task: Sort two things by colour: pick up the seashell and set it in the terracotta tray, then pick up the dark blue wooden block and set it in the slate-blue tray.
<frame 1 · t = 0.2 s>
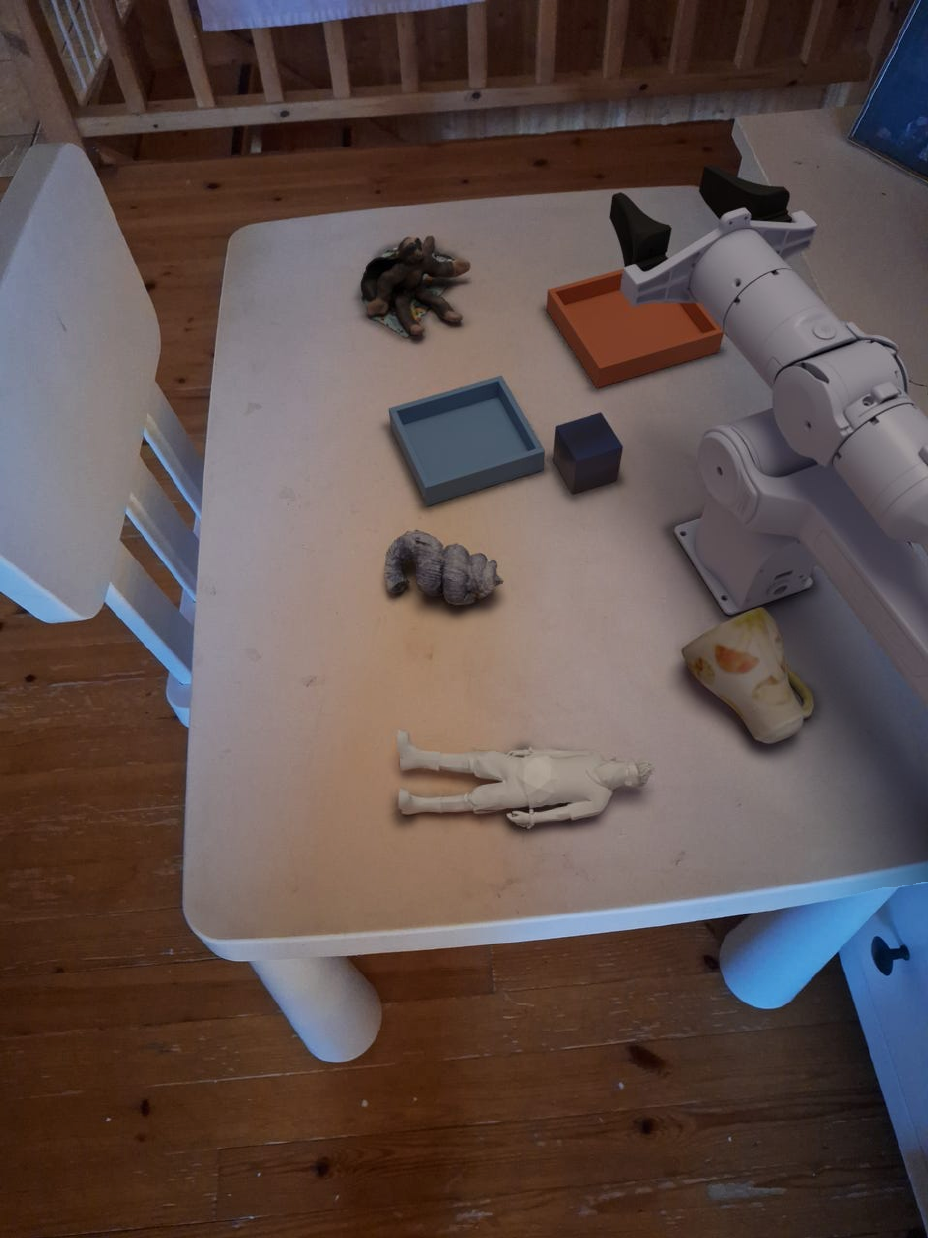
hand: (660, 191, 67), 21 cm above the table, tool horizontal, fingers open, 7 cm apart
blue tray: (465, 448, 83), on the table
mug: (745, 694, 69), on the table
figurine: (524, 787, 66), on the table
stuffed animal: (416, 292, 95), on the table
terracotta tray: (630, 330, 91), on the table
blue block: (584, 470, 81), on the table
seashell: (444, 586, 75), on the table
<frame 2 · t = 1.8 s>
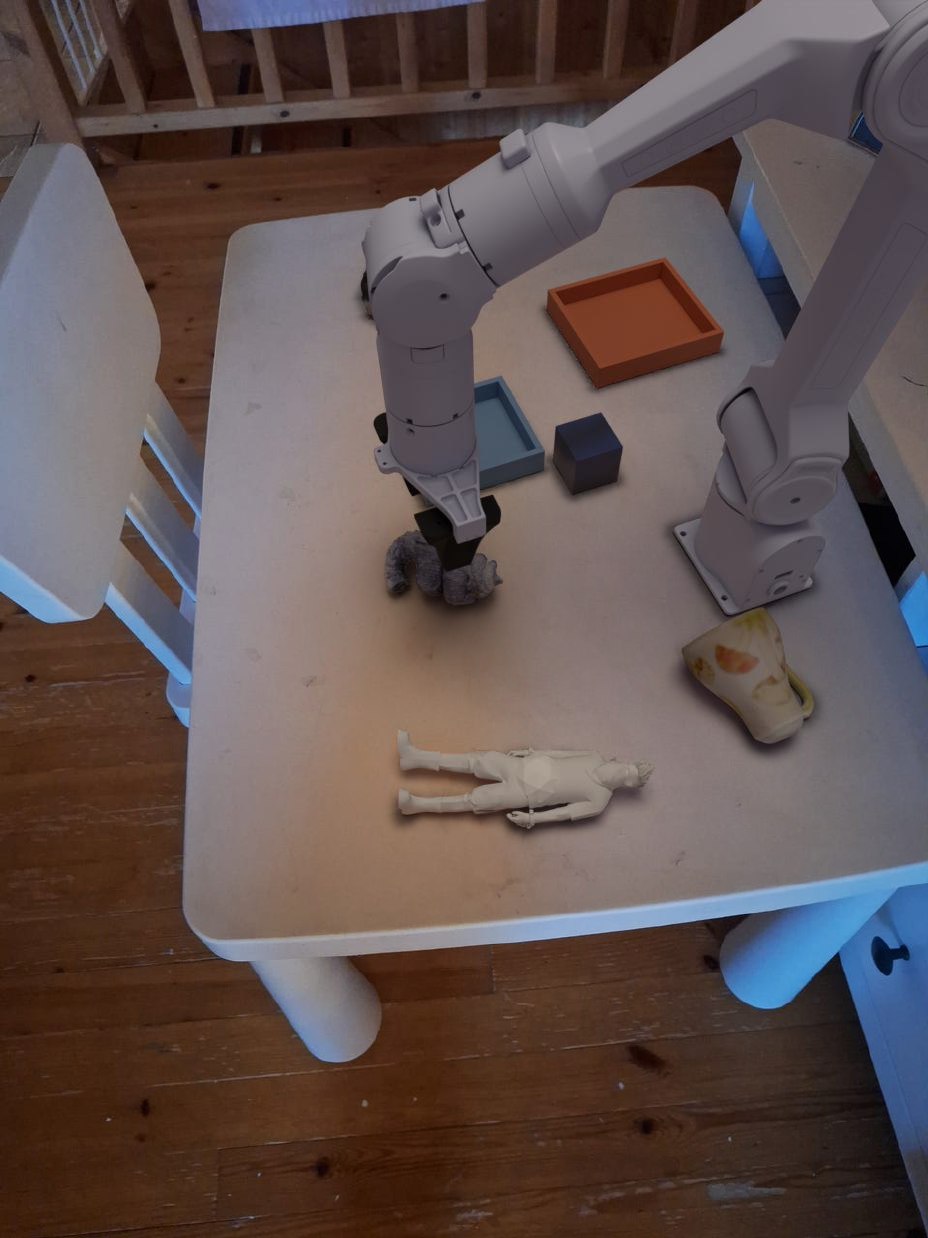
hand: (439, 526, 68), 8 cm above the table, tool pointing down, fingers open, 7 cm apart
nothing on the table moved.
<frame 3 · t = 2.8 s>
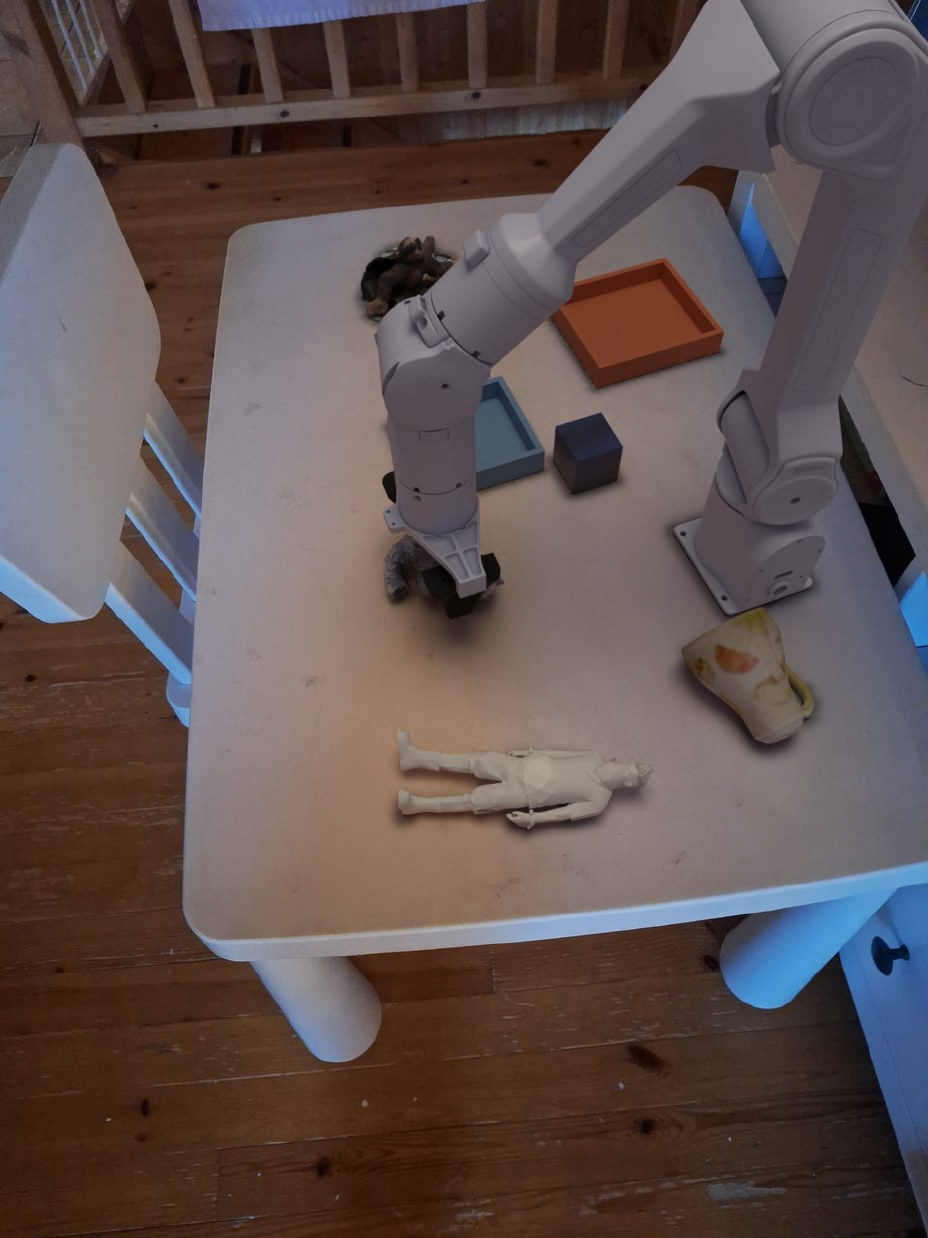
hand: (443, 574, 74), 1 cm above the table, tool pointing down
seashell: (445, 588, 75), on the table, touching gripper
everything else where it was.
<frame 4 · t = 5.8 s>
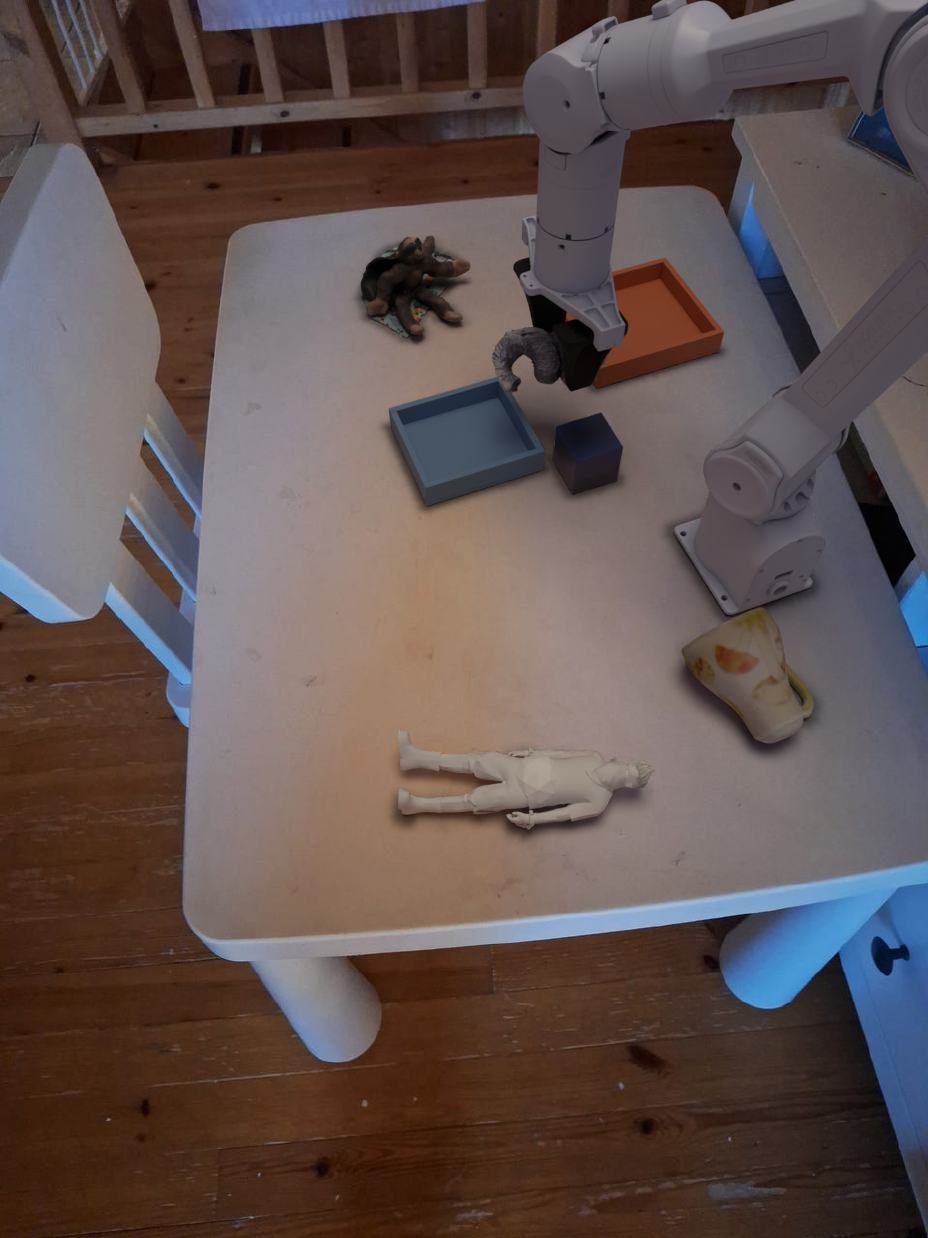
hand: (563, 361, 77), 8 cm above the table, tool pointing down, fingers closed on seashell, 6 cm apart
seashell: (550, 378, 78), point 7 cm above the table, touching gripper
everything else where it was.
when the fingers open (3 cm above the table, at t = 8.9 s): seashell stays where it is, resting on terracotta tray.
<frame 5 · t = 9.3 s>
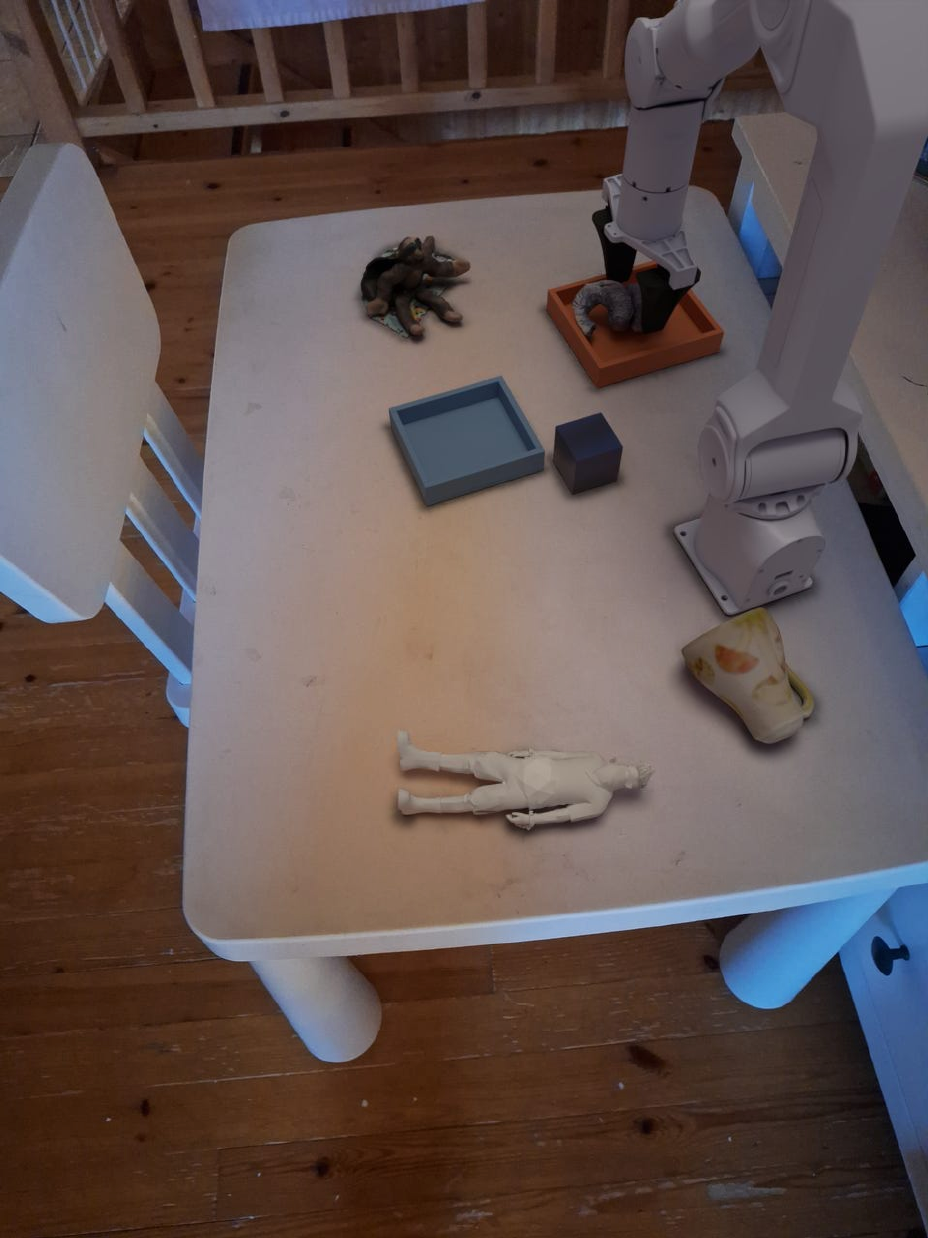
hand: (634, 304, 88), 3 cm above the table, tool pointing down, fingers open, 7 cm apart
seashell: (619, 327, 90), point 1 cm above the table, touching terracotta tray
everything else where it was.
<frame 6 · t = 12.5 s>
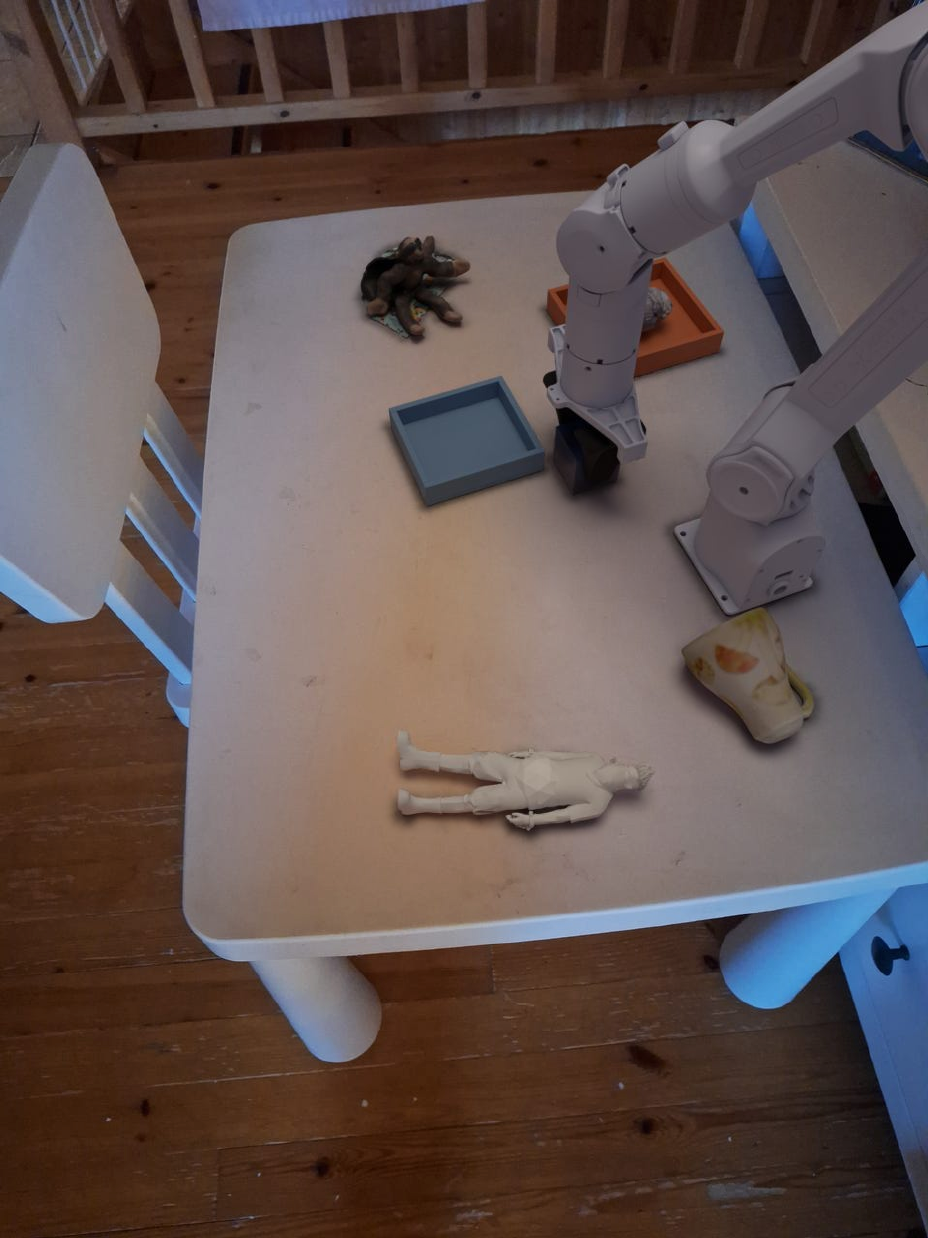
hand: (586, 459, 80), 1 cm above the table, tool pointing down, fingers closed on blue block, 4 cm apart
blue block: (584, 470, 81), on the table, touching gripper
everything else where it was.
when the fingers open (2 cm above the table, at t = 16.7 s): blue block stays where it is, resting on blue tray.
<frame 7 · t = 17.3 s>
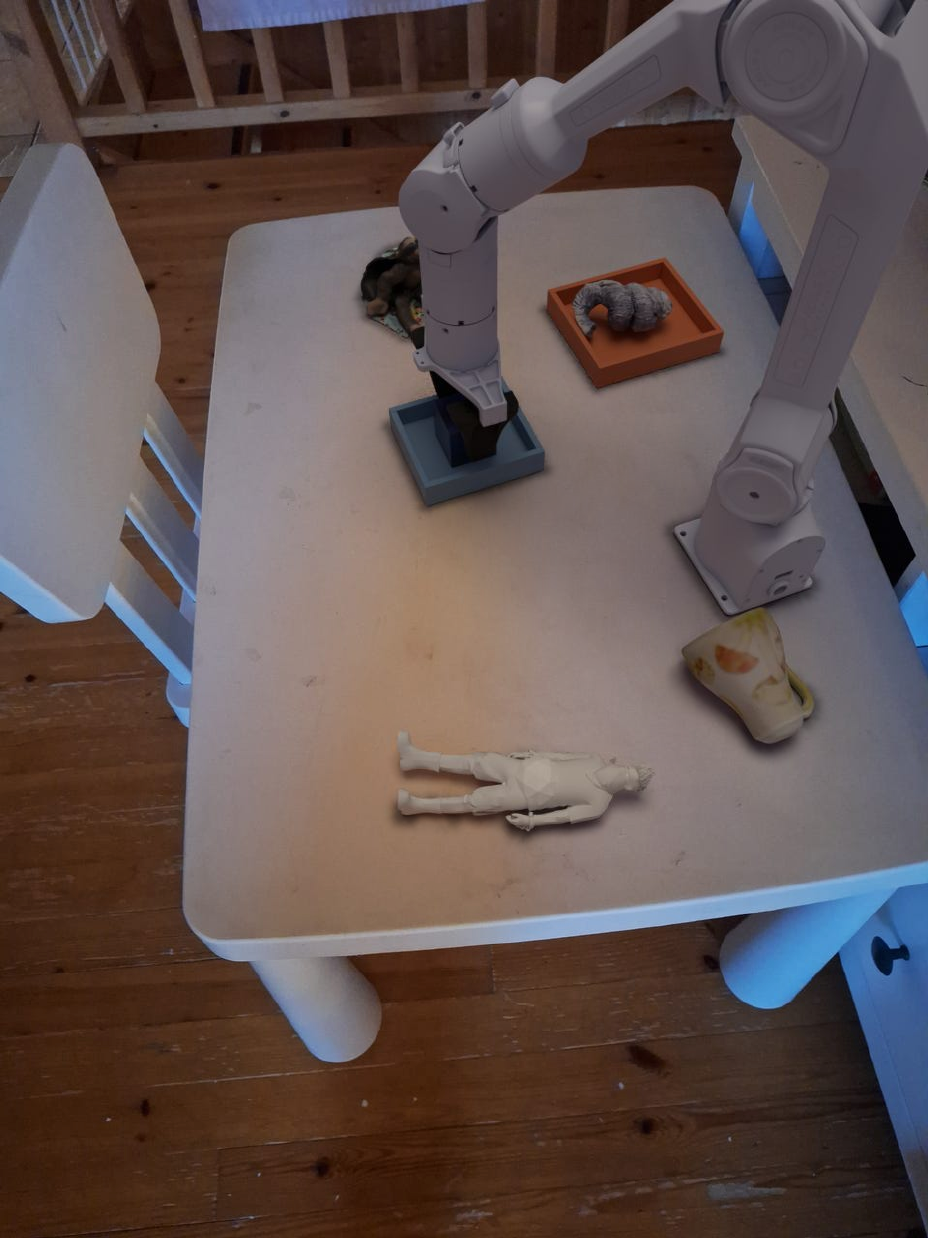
hand: (465, 426, 81), 3 cm above the table, tool pointing down, fingers open, 7 cm apart
blue block: (465, 444, 83), resting on blue tray
everything else where it was.
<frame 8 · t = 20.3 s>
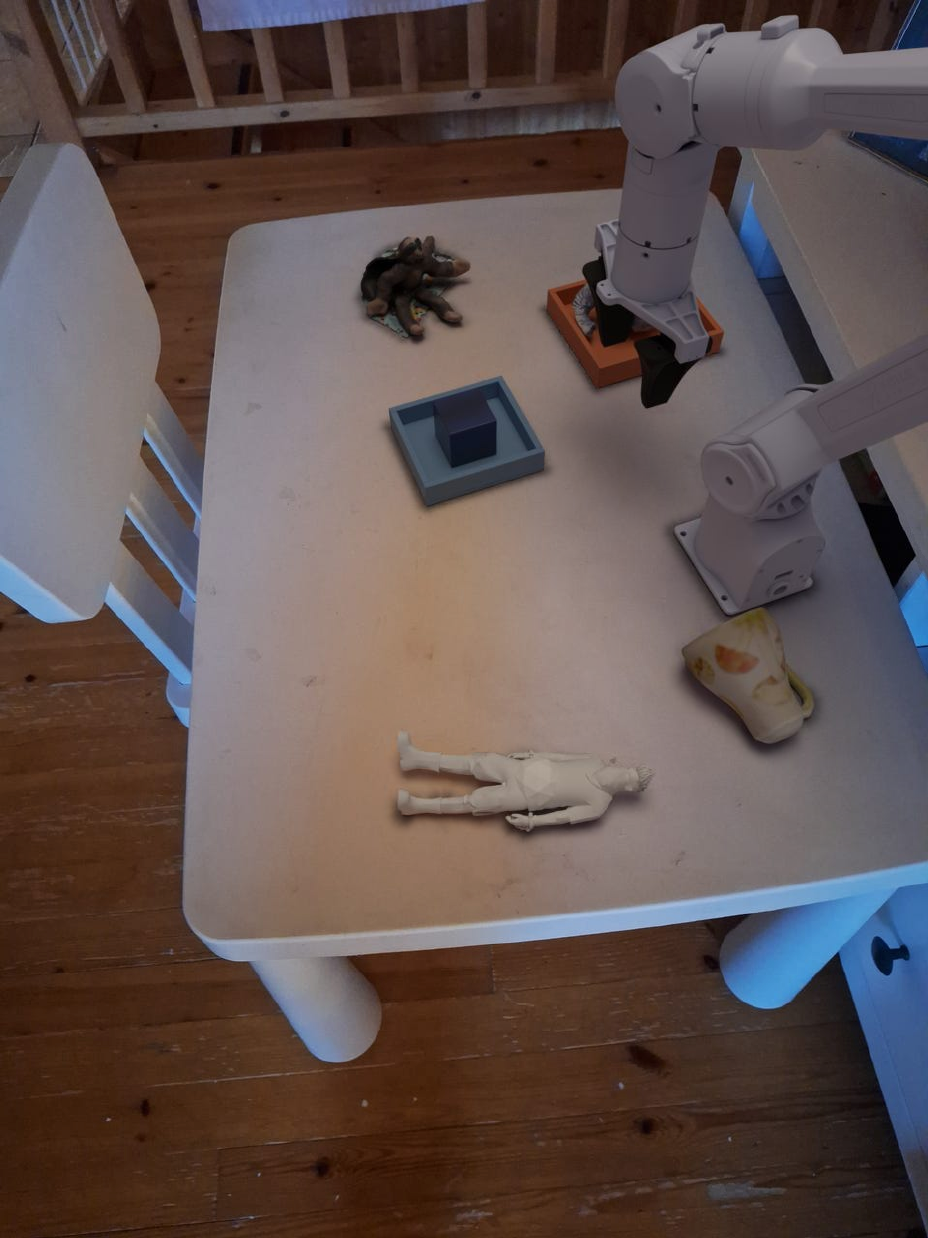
hand: (633, 371, 74), 9 cm above the table, tool pointing down, fingers open, 7 cm apart
nothing on the table moved.
at the end: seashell inside the target area in the terracotta tray (1.3 cm from its centre), point 0.6 cm above the terracotta tray's base; blue block inside the target area in the blue tray (0.0 cm from its centre), point 0.5 cm above the blue tray's base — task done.
